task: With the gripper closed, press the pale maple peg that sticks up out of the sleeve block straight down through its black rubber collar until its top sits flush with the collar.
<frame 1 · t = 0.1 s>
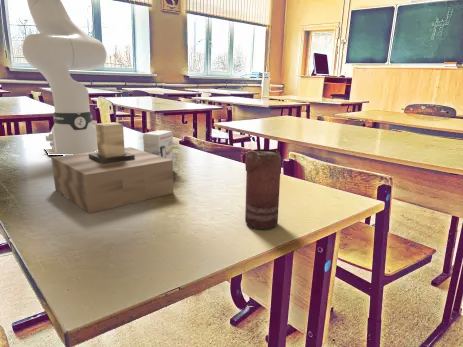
ink box: (159, 174, 102), on the table
can: (260, 224, 68), on the table
sleeve block: (114, 191, 85), on the table
peg: (110, 143, 82), point 12 cm above the table, slide at 0.0 cm
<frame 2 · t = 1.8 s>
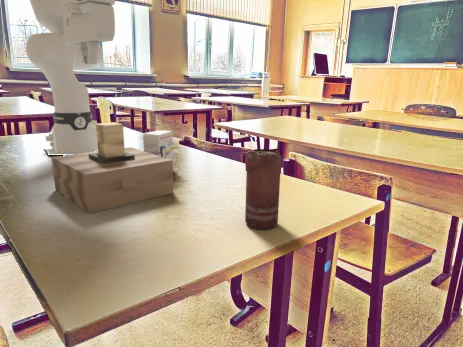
hand: (89, 63, 83), 29 cm above the table, fingers closed
nothing on the table moved.
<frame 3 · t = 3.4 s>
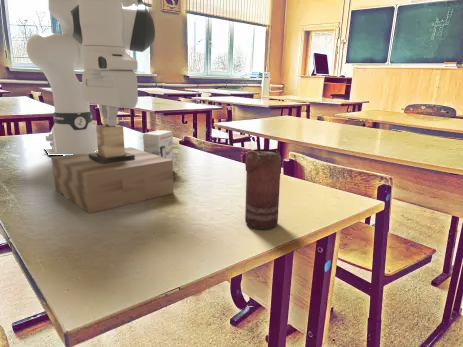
hand: (109, 125, 81), 16 cm above the table, fingers closed, pressing on peg
peg: (110, 145, 82), point 11 cm above the table, slide at 0.4 cm, touching gripper
everything else where it was.
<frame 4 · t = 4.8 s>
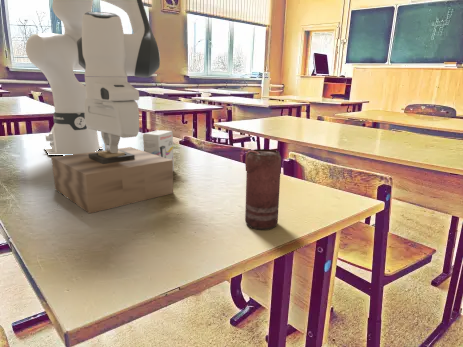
hand: (111, 152, 83), 10 cm above the table, fingers closed, pressing on peg
peg: (112, 171, 84), point 5 cm above the table, slide at 6.5 cm, touching gripper
everything else where it was.
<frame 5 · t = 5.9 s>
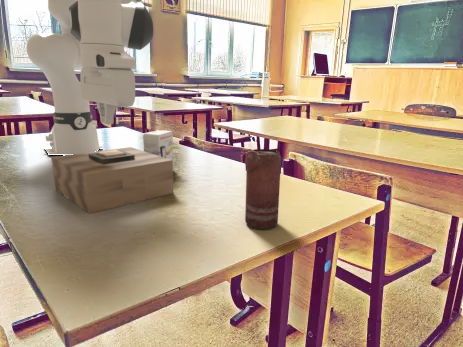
hand: (107, 123, 81), 16 cm above the table, fingers closed
peg: (112, 171, 84), point 5 cm above the table, slide at 6.6 cm
everything else where it was.
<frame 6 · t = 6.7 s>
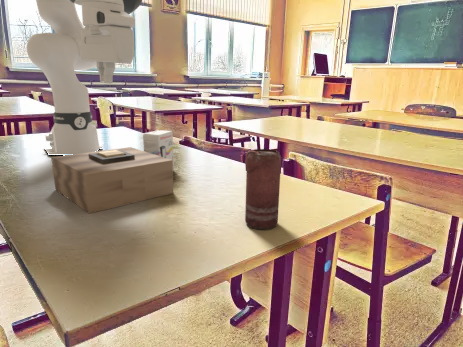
hand: (106, 83, 84), 25 cm above the table, fingers closed
nothing on the table moved.
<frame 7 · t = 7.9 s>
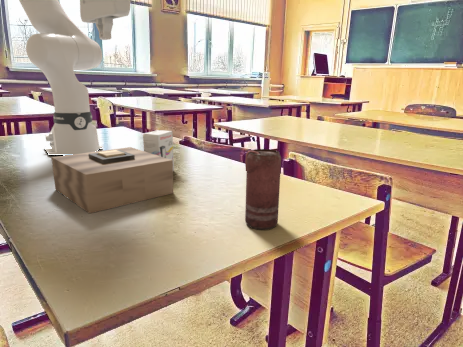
hand: (105, 39, 89), 35 cm above the table, fingers closed
nothing on the table moved.
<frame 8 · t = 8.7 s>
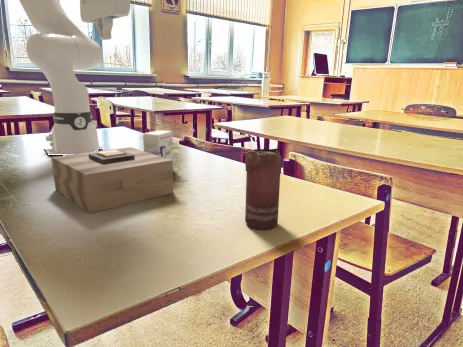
hand: (105, 39, 89), 35 cm above the table, fingers closed
nothing on the table moved.
at the end: peg slide at 6.6 cm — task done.
